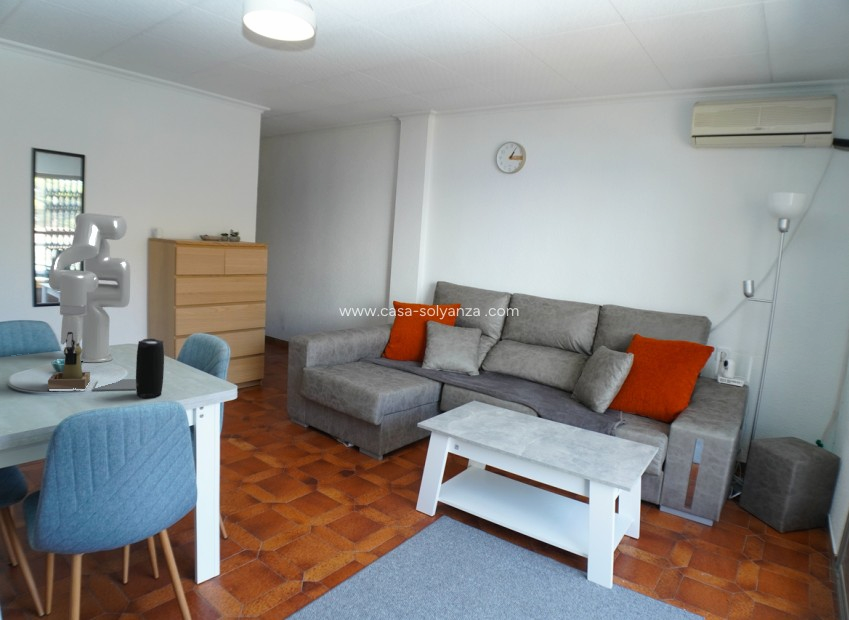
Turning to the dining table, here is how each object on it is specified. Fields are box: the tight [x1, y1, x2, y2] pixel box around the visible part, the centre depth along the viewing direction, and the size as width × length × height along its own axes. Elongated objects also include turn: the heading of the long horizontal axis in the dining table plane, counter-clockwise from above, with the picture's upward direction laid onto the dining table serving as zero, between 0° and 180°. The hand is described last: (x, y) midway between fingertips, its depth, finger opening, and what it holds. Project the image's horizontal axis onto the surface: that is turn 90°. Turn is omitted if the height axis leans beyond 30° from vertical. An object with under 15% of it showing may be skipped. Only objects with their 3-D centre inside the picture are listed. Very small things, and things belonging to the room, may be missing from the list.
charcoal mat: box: [92, 378, 136, 392], centre depth 192 cm, size 13×13×1 cm
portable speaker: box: [135, 338, 165, 399], centre depth 183 cm, size 8×9×19 cm
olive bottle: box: [62, 345, 83, 379], centre depth 185 cm, size 6×6×11 cm
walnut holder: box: [47, 371, 91, 390], centre depth 185 cm, size 10×10×4 cm
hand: (72, 361), depth 185 cm, fingers closed on olive bottle, 5 cm apart
